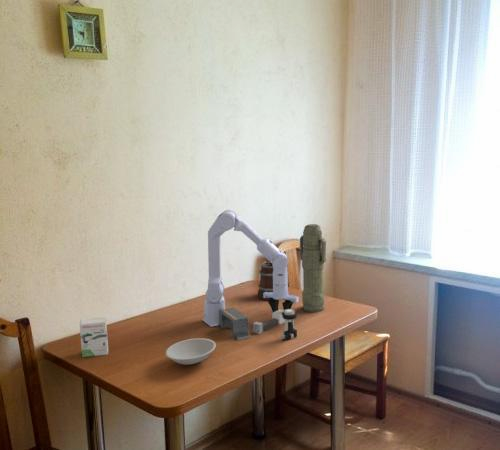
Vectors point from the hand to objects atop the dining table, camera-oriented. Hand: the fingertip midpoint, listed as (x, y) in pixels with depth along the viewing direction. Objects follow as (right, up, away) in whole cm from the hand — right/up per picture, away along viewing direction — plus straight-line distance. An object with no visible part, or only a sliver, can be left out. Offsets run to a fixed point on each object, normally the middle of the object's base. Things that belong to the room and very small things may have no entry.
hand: (281, 317), depth 199 cm
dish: (-31, -9, -34) cm, 47 cm away
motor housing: (-18, -3, -8) cm, 20 cm away
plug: (-4, -2, -5) cm, 7 cm away
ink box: (-65, -8, -24) cm, 70 cm away
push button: (+2, -4, -17) cm, 17 cm away
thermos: (+14, +1, +14) cm, 20 cm away
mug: (-1, +4, +33) cm, 33 cm away
